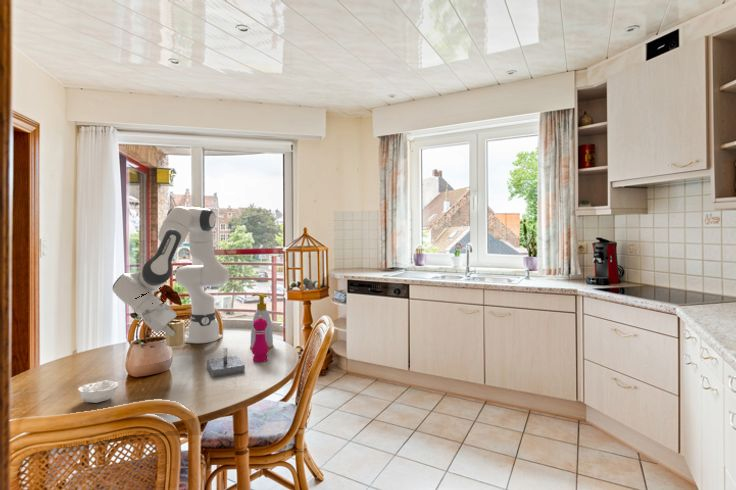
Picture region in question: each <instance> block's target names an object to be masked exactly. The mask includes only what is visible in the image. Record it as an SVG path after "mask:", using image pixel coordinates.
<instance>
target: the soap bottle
mask: <svg viewBox="0 0 736 490" xmlns="http://www.w3.org/2000/svg"><path fill="white" fill-rule="evenodd" d="M251 296H252V297H256V296H258V297H259V302H258V303H256V311H255V312H254V315H253V318H252V322H251V323H252V324H251V331H250V345H249V348H250V350H252V347H253V345H254V342H255V337H256V335H255V333H254V332H255V331H254V330H255V328H254V327H253V323H254V321H255V320H256V319H259V318H258V316H259V315H261V316H262V319H265V320H266V321H267V327H266V328H265V329H266V333H265V340H266V342H267V345H268V348H269V350H271V349H272V347H273V348H274V343H273V342H274V339H273V337H274V336H273V327H272V321H271V316H270V314H269V311H268V310H267V302H265V298H268V295H267V294H264V293H255V294H252V295H251ZM270 348H271V349H270Z"/></svg>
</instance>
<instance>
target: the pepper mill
mask: <svg viewBox="0 0 736 490" xmlns="http://www.w3.org/2000/svg"><path fill="white" fill-rule="evenodd" d="M258 318H259V319H256V320H255V321H254V323H253V327H254V328H255V330H254V331H255V332H254V333H255V335H256V337H255V342H254V345H253V347H252V349H251V353H252V355H253V356H252V361H253V362H254V363H263V362H264V363H265V362H266V361H268V355H267V354H268V353H269V350H270V349H269V348H268V345H267V342H266V340H265V333H266V329H265V328H266V327H267V321H266V320H265V319H262V316H261V315H259V316H258Z"/></svg>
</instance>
